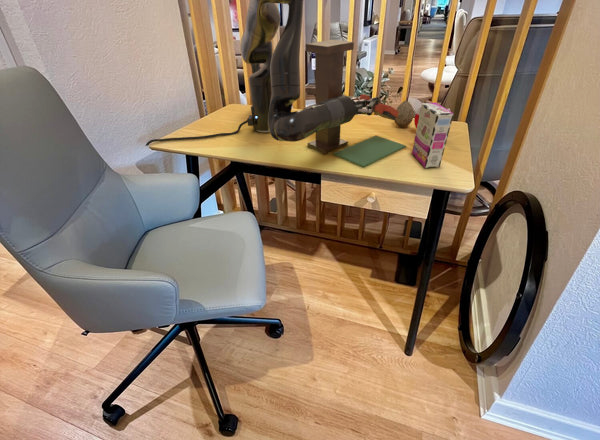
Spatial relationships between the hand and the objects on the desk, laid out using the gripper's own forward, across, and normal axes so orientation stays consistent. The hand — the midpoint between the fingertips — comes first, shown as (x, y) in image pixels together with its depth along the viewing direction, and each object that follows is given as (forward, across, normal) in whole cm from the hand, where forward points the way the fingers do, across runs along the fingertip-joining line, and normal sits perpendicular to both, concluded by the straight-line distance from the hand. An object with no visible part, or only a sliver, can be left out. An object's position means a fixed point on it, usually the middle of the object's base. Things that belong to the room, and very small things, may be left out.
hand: (374, 99), depth 94 cm
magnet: (+27, -6, +17) cm, 32 cm away
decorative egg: (+27, +6, +17) cm, 33 cm away
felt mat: (+1, 0, +17) cm, 17 cm away
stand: (-7, +13, +17) cm, 22 cm away
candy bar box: (+8, -17, +17) cm, 25 cm away
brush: (+1, 0, +4) cm, 4 cm away
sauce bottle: (+3, +70, +17) cm, 72 cm away
